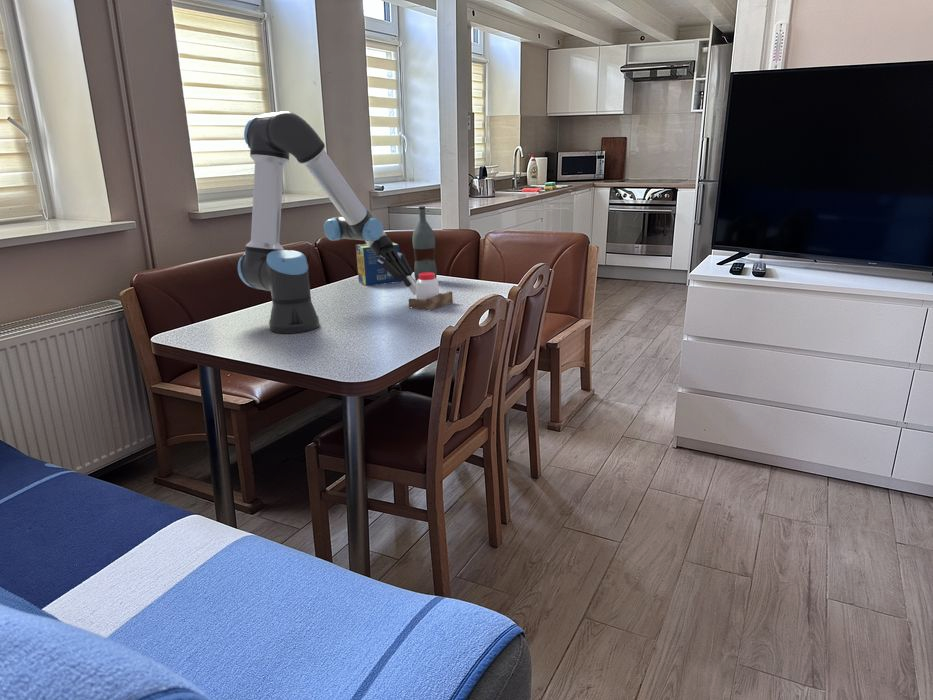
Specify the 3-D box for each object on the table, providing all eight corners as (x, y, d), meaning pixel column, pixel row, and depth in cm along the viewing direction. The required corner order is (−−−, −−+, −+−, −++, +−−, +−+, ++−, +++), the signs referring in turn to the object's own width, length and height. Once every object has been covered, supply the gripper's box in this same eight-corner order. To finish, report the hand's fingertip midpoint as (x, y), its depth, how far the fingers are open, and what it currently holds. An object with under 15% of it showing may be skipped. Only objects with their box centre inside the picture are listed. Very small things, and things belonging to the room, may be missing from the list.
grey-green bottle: (434, 284, 262) (430, 207, 253) (412, 284, 264) (407, 208, 255) (439, 279, 271) (436, 205, 262) (418, 279, 272) (413, 205, 264)
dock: (429, 310, 219) (428, 299, 218) (408, 307, 225) (407, 296, 223) (452, 302, 229) (452, 291, 228) (432, 300, 235) (431, 289, 233)
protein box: (358, 282, 272) (355, 244, 268) (393, 277, 279) (390, 241, 274) (365, 286, 263) (362, 247, 259) (401, 281, 269) (399, 243, 265)
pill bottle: (439, 307, 224) (437, 275, 220) (416, 308, 223) (414, 276, 220) (439, 302, 231) (437, 271, 228) (417, 303, 231) (415, 272, 228)
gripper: (385, 246, 241) (423, 295, 237) (360, 251, 231) (399, 302, 227) (395, 232, 237) (434, 282, 232) (370, 237, 226) (410, 289, 222)
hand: (417, 292), depth 229 cm, fingers closed
